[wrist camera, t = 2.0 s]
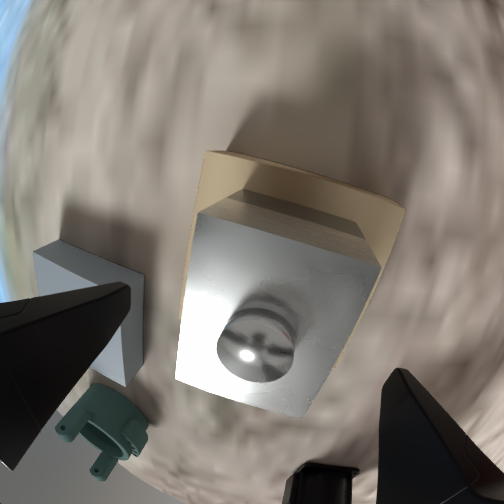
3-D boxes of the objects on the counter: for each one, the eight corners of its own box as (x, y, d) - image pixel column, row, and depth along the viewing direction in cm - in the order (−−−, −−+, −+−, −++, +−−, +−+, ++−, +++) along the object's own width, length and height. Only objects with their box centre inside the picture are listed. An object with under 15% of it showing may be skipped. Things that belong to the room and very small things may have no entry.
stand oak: (389, 198, 13) (406, 209, 11) (333, 336, 17) (334, 367, 14) (225, 150, 14) (205, 150, 12) (197, 294, 18) (178, 319, 15)
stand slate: (144, 275, 18) (119, 295, 16) (142, 364, 22) (125, 387, 19) (58, 239, 19) (32, 251, 16) (68, 324, 23) (48, 340, 20)
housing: (356, 222, 11) (388, 280, 6) (308, 342, 14) (299, 434, 8) (242, 188, 12) (185, 219, 7) (215, 313, 14) (166, 392, 9)
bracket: (129, 435, 28) (99, 482, 20) (78, 387, 27) (39, 432, 19) (167, 428, 25) (134, 489, 17) (106, 371, 24) (58, 429, 16)
